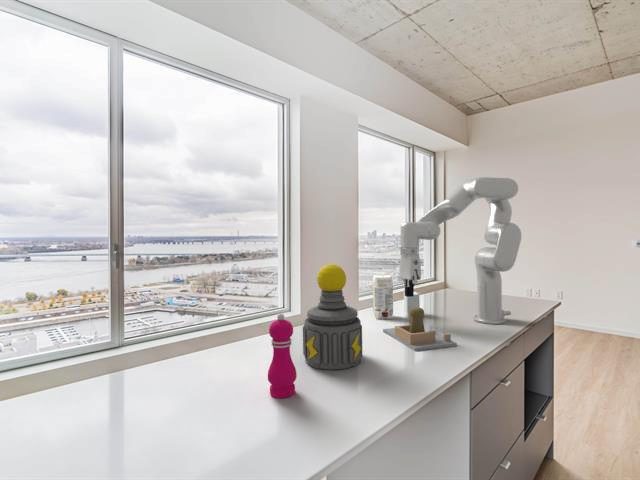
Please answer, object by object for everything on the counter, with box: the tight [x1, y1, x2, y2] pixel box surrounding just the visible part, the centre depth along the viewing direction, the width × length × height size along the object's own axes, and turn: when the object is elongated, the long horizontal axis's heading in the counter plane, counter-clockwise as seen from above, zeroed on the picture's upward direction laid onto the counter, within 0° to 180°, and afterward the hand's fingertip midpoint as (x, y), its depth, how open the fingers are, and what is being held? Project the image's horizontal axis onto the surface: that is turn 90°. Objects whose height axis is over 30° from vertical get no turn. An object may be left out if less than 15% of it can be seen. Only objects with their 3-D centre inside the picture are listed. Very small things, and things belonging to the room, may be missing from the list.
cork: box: [409, 307, 425, 333], centre depth 131 cm, size 6×6×11 cm
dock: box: [382, 324, 457, 352], centre depth 134 cm, size 16×24×4 cm, turn 16°
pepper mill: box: [267, 313, 297, 399], centre depth 91 cm, size 7×7×20 cm
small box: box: [403, 291, 421, 318], centre depth 169 cm, size 8×6×10 cm
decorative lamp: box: [302, 263, 363, 371], centre depth 113 cm, size 19×19×30 cm
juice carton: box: [372, 274, 394, 320], centre depth 166 cm, size 8×9×19 cm
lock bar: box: [423, 320, 434, 332], centre depth 142 cm, size 2×10×4 cm, turn 15°
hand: (409, 296), depth 151 cm, fingers closed
